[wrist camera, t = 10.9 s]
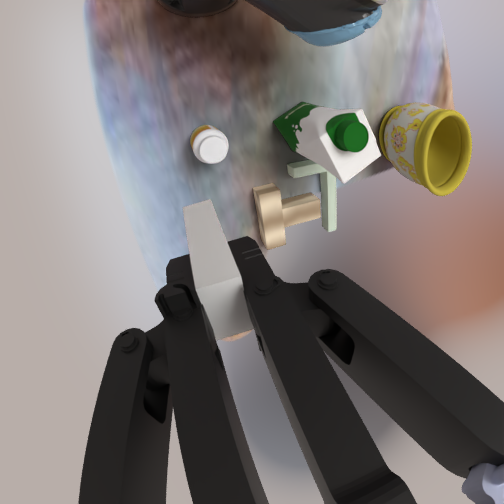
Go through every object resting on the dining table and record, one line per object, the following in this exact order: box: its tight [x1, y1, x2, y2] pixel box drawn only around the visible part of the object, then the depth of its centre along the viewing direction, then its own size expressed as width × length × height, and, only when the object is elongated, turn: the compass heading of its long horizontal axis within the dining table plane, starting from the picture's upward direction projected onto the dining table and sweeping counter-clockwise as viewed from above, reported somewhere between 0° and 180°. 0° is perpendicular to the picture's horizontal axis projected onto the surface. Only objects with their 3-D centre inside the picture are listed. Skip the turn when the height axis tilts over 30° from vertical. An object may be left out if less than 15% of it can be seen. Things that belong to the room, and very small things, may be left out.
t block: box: [253, 183, 321, 250], centre depth 54 cm, size 12×12×4 cm
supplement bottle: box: [190, 125, 229, 164], centre depth 40 cm, size 5×5×10 cm
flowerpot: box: [379, 103, 472, 196], centre depth 46 cm, size 18×18×16 cm
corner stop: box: [287, 160, 336, 232], centre depth 54 cm, size 16×9×3 cm, turn 9°
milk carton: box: [273, 102, 381, 184], centre depth 39 cm, size 9×9×20 cm
